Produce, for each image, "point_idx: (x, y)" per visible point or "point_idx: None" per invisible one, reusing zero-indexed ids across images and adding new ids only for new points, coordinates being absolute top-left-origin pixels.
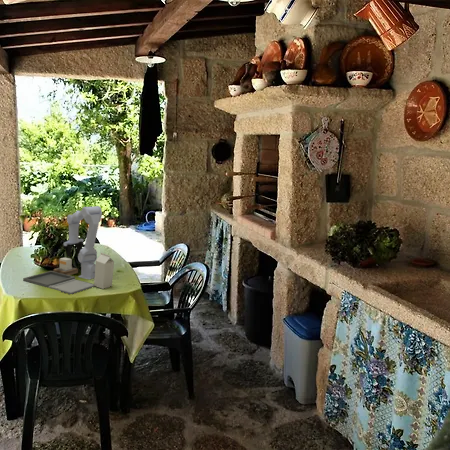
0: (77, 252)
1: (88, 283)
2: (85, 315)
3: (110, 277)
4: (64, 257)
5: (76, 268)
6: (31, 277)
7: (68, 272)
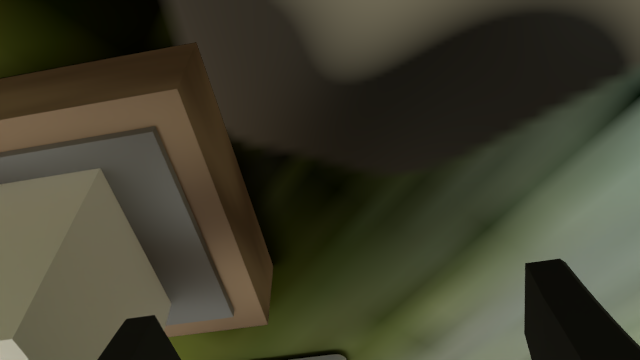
0: (543, 333)
1: None
2: None
3: None
4: (6, 340)
5: (256, 307)
6: None
7: None
